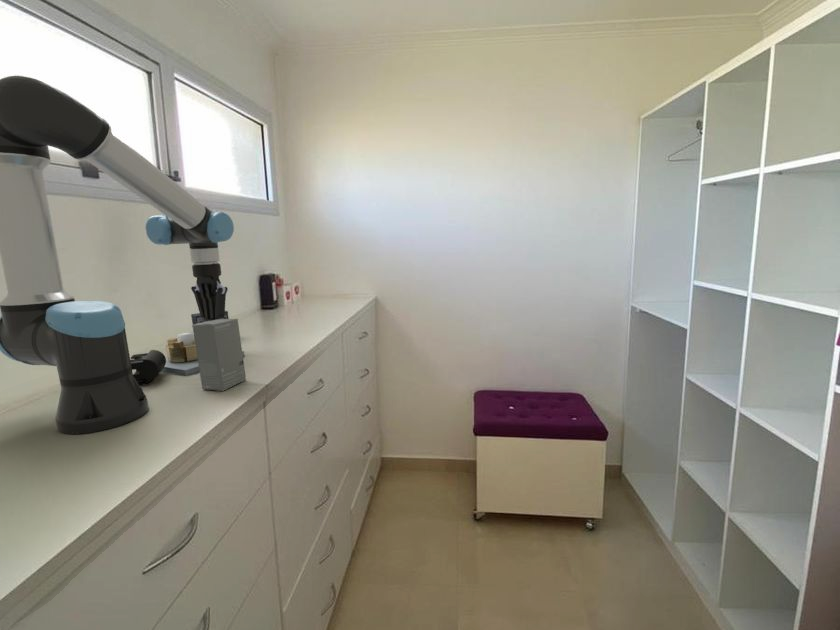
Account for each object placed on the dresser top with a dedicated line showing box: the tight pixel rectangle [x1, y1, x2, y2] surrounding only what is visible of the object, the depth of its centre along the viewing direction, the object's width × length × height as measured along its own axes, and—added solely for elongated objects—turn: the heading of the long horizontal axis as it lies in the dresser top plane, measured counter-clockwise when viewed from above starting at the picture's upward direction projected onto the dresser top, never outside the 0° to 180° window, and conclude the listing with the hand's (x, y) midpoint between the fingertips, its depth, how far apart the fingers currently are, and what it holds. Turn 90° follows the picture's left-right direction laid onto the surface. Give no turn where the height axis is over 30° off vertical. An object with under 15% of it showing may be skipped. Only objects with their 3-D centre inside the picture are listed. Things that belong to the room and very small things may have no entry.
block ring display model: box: [160, 332, 245, 377], centre depth 126 cm, size 19×18×8 cm
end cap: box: [130, 349, 166, 387], centre depth 112 cm, size 10×7×7 cm
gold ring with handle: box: [165, 334, 198, 362], centre depth 128 cm, size 16×10×5 cm, turn 133°
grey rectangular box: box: [191, 318, 247, 392], centre depth 104 cm, size 8×7×16 cm
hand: (215, 341), depth 133 cm, fingers closed
